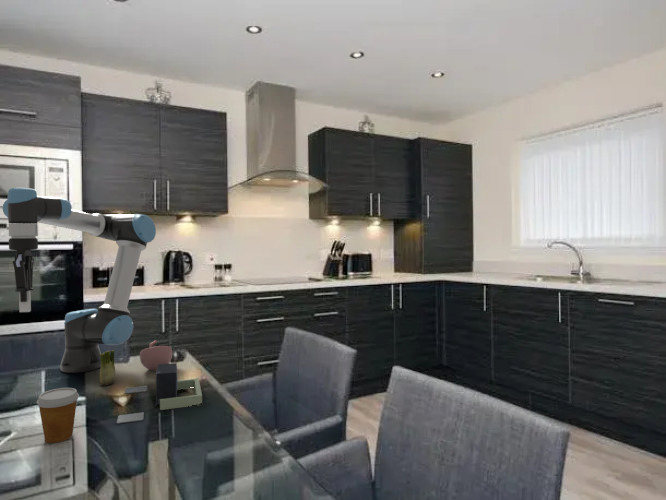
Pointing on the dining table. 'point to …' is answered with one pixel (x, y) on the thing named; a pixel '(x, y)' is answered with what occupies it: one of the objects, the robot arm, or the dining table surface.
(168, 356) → the mortar and pestle
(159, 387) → the small box
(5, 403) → the dining table surface
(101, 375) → the fennel bulb
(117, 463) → the dining table surface
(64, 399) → the disposable coffee cup
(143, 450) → the dining table surface
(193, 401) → the track
